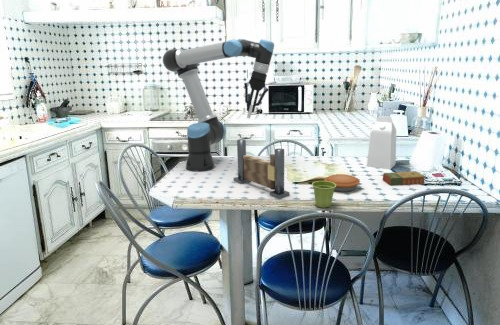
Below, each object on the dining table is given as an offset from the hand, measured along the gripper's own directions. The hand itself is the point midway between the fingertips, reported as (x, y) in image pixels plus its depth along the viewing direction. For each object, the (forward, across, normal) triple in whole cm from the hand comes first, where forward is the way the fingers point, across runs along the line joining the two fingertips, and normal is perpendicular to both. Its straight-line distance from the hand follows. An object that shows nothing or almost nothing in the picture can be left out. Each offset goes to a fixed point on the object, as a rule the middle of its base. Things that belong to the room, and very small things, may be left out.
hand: (248, 117), depth 209 cm
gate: (+24, +10, -33) cm, 42 cm away
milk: (+8, +74, -1) cm, 75 cm away
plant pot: (+20, +34, -56) cm, 69 cm away
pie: (+16, +46, -36) cm, 60 cm away
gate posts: (+26, +11, -33) cm, 43 cm away
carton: (+9, +75, -30) cm, 81 cm away
